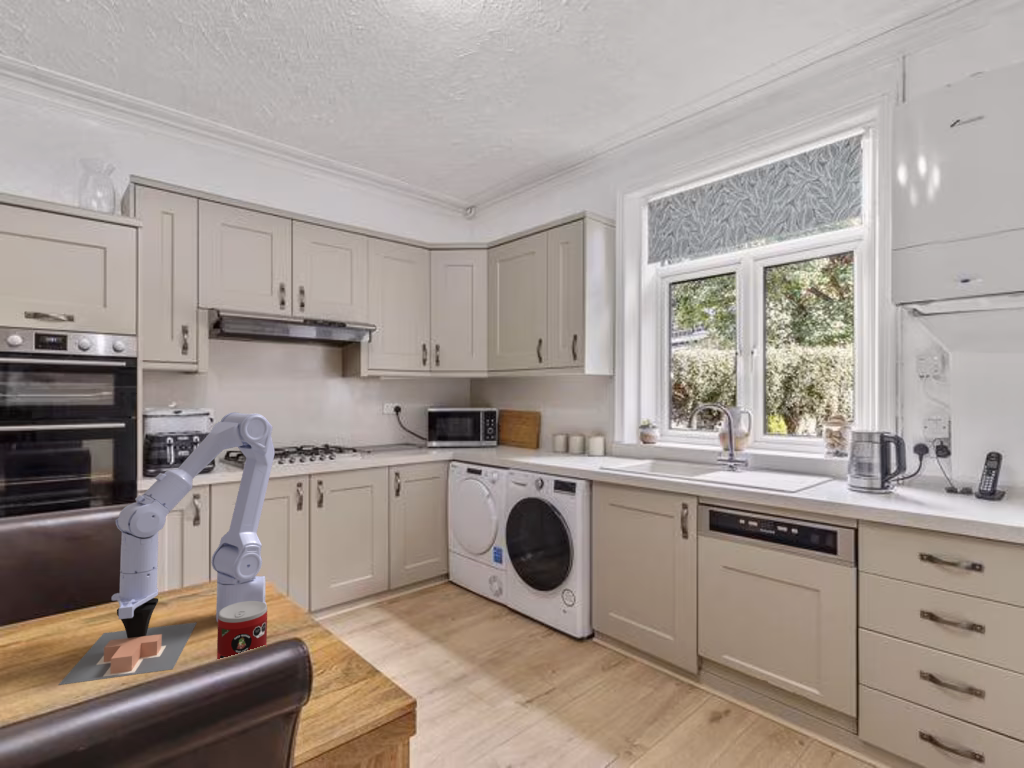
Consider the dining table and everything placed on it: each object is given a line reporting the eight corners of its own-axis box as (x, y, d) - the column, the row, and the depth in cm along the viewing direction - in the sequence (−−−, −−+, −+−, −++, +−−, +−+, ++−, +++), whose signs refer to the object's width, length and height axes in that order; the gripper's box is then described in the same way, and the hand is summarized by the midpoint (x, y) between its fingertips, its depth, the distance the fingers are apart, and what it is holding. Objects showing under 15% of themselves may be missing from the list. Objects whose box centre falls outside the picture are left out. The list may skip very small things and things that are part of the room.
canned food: (214, 689, 88) (215, 621, 88) (218, 666, 95) (220, 603, 96) (265, 680, 91) (267, 614, 91) (266, 658, 99) (267, 598, 99)
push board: (196, 627, 111) (196, 622, 111) (172, 674, 92) (172, 669, 92) (103, 638, 106) (103, 633, 106) (57, 691, 87) (58, 684, 87)
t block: (161, 647, 100) (161, 634, 100) (148, 668, 92) (149, 653, 93) (109, 654, 97) (110, 640, 97) (92, 676, 90) (93, 660, 90)
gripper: (126, 559, 105) (124, 629, 105) (98, 584, 92) (95, 665, 91) (168, 556, 108) (166, 624, 107) (147, 579, 94) (144, 658, 94)
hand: (137, 643), depth 100 cm, fingers closed
